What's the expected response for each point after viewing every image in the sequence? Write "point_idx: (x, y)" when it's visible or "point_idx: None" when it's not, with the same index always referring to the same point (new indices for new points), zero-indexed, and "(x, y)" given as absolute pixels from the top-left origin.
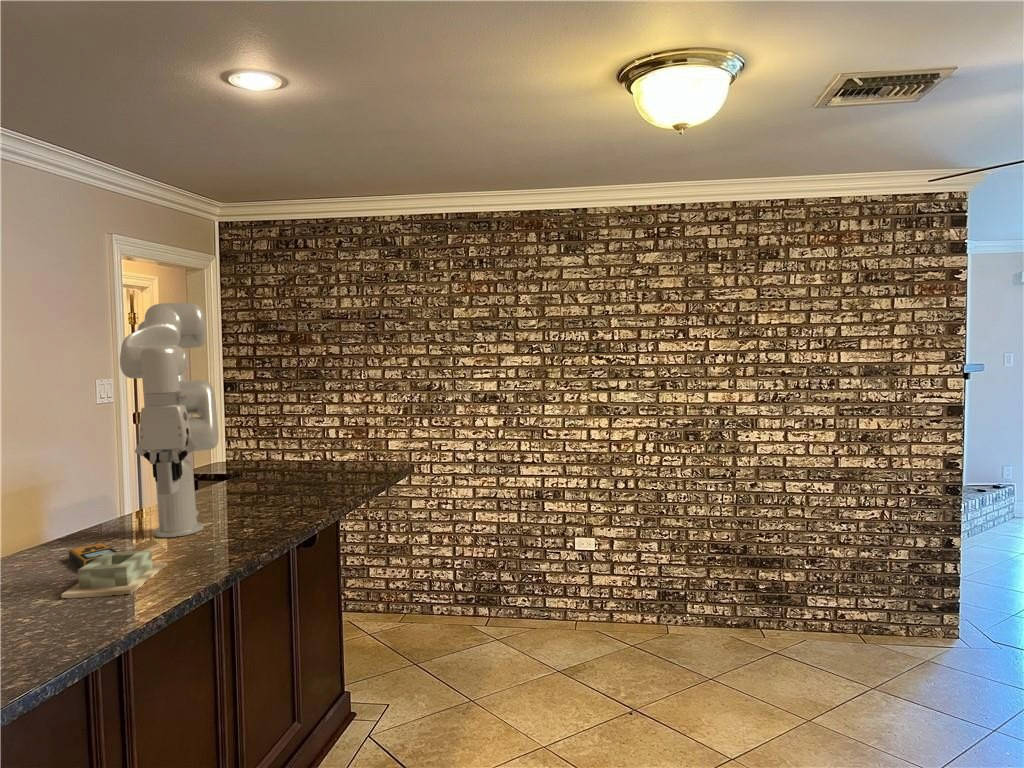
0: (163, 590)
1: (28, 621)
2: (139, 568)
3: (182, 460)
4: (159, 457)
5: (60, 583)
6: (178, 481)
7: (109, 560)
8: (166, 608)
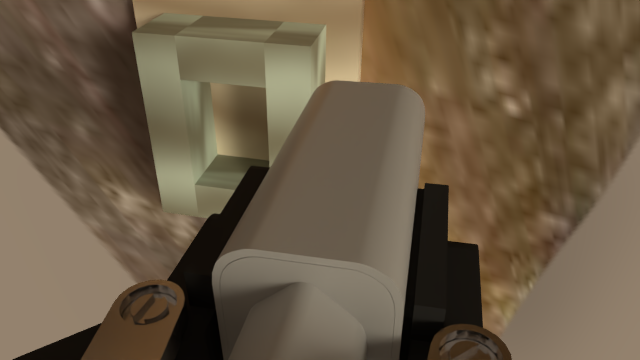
0: None
1: None
2: None
3: (495, 353)
4: (175, 356)
5: (73, 68)
6: (420, 155)
7: (188, 97)
8: None
